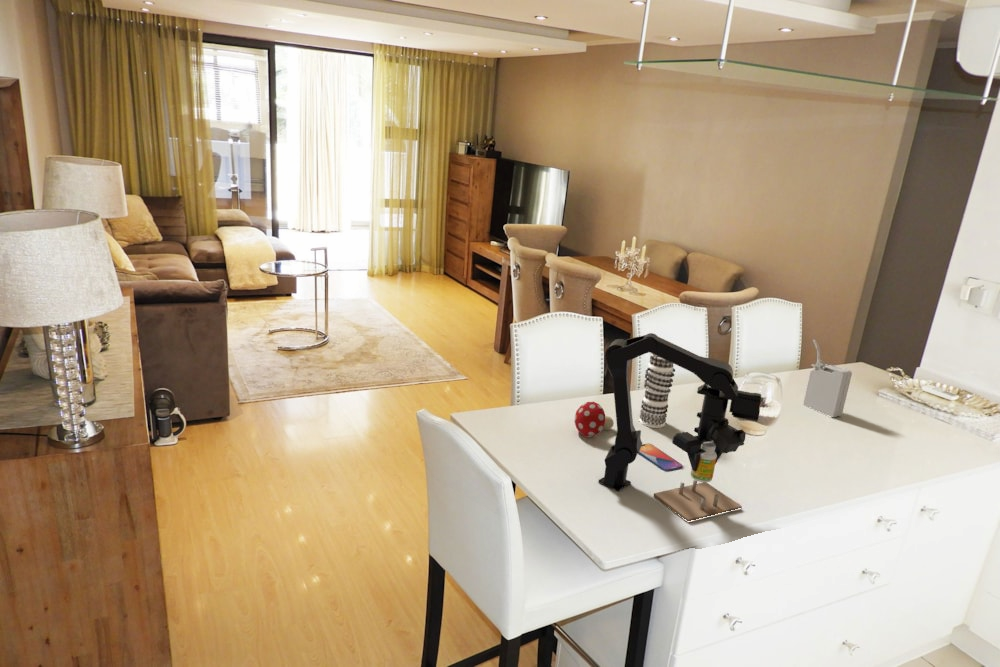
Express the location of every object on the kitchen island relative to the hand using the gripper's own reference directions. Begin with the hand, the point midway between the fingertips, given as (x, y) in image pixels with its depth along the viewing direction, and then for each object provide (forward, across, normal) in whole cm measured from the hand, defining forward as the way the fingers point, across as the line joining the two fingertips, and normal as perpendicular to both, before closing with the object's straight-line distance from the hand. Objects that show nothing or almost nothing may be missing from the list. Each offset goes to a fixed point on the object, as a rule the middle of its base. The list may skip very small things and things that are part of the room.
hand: (702, 468), depth 169 cm
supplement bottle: (+3, 0, 0) cm, 3 cm away
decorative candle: (+10, +22, +45) cm, 51 cm away
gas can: (+10, +92, +35) cm, 100 cm away
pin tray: (+10, 0, 0) cm, 10 cm away
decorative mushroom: (+10, -1, +44) cm, 45 cm away
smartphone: (+10, +7, +24) cm, 27 cm away
